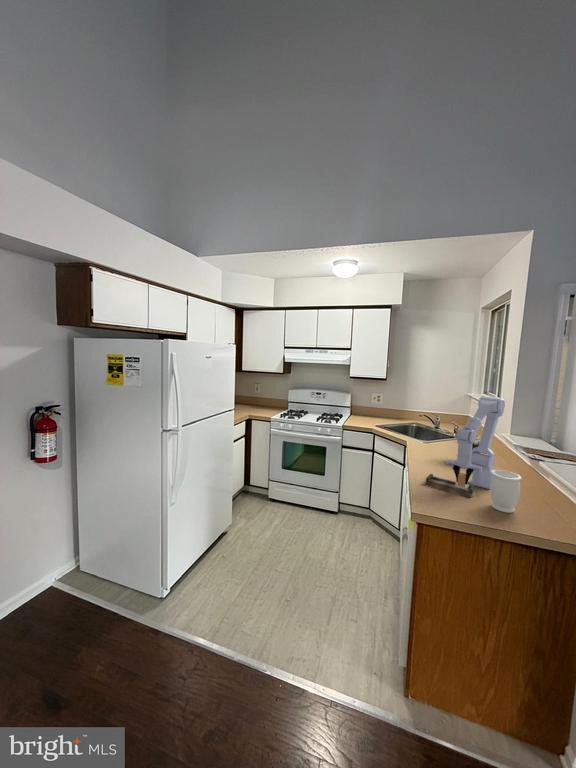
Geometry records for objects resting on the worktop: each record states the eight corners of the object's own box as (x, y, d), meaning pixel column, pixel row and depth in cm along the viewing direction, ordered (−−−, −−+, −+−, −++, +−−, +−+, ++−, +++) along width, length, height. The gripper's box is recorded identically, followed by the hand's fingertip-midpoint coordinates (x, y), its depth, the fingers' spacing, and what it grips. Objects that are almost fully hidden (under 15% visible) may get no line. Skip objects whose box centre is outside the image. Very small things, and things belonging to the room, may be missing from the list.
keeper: (468, 487, 149) (469, 474, 149) (466, 491, 146) (467, 477, 145) (457, 484, 153) (458, 471, 152) (454, 487, 149) (455, 474, 148)
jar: (518, 517, 127) (522, 481, 125) (488, 509, 132) (491, 475, 130) (516, 506, 136) (520, 472, 134) (488, 500, 141) (491, 467, 139)
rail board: (475, 491, 149) (475, 484, 149) (471, 498, 143) (471, 490, 142) (430, 479, 162) (431, 473, 162) (425, 485, 155) (425, 478, 155)
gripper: (445, 452, 149) (443, 480, 150) (480, 460, 140) (478, 489, 141) (449, 449, 154) (447, 476, 156) (483, 456, 145) (481, 485, 146)
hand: (462, 482), depth 149 cm, fingers closed on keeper, 3 cm apart
